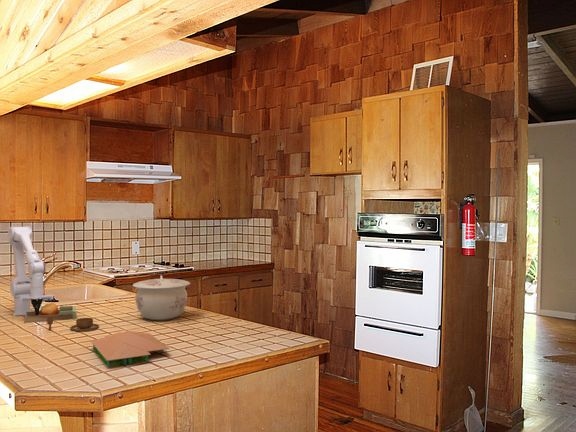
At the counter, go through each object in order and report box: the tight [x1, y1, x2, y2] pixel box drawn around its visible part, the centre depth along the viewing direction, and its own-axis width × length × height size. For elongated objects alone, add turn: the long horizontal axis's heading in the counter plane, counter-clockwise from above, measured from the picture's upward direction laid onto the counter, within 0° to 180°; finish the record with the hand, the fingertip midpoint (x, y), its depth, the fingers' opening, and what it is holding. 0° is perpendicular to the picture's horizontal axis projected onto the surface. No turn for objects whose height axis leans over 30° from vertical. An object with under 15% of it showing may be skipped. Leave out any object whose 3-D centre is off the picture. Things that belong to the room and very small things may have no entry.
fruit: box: [39, 302, 59, 316], centre depth 267 cm, size 8×8×8 cm
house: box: [90, 330, 170, 369], centre depth 204 cm, size 23×33×8 cm
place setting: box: [46, 317, 100, 334], centre depth 245 cm, size 18×20×6 cm
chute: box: [23, 305, 77, 324], centre depth 267 cm, size 14×23×4 cm, turn 112°
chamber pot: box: [132, 275, 191, 322], centre depth 267 cm, size 28×28×21 cm
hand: (37, 315), depth 265 cm, fingers closed
